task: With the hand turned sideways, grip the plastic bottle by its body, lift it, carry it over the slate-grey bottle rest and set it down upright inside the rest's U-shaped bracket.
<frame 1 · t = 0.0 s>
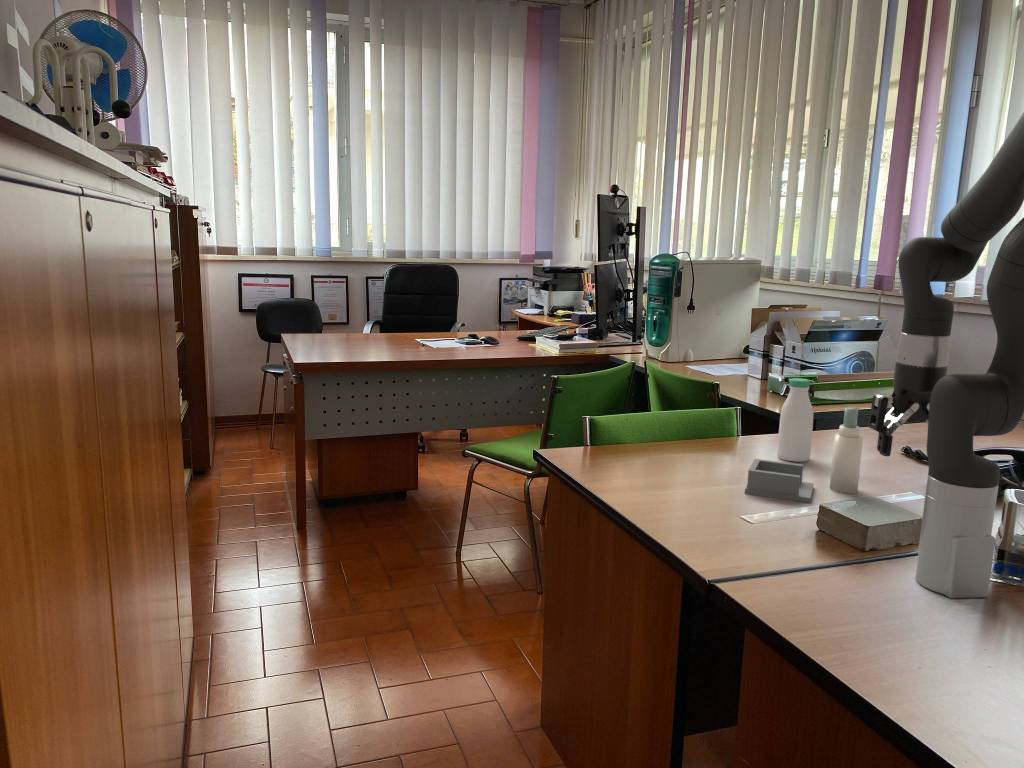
hand: (908, 455, 125), 17 cm above the table, tool pointing down, fingers open, 8 cm apart
plastic bottle: (843, 489, 161), on the table
milk bottle: (793, 459, 185), on the table
bottle rest: (776, 490, 160), on the table
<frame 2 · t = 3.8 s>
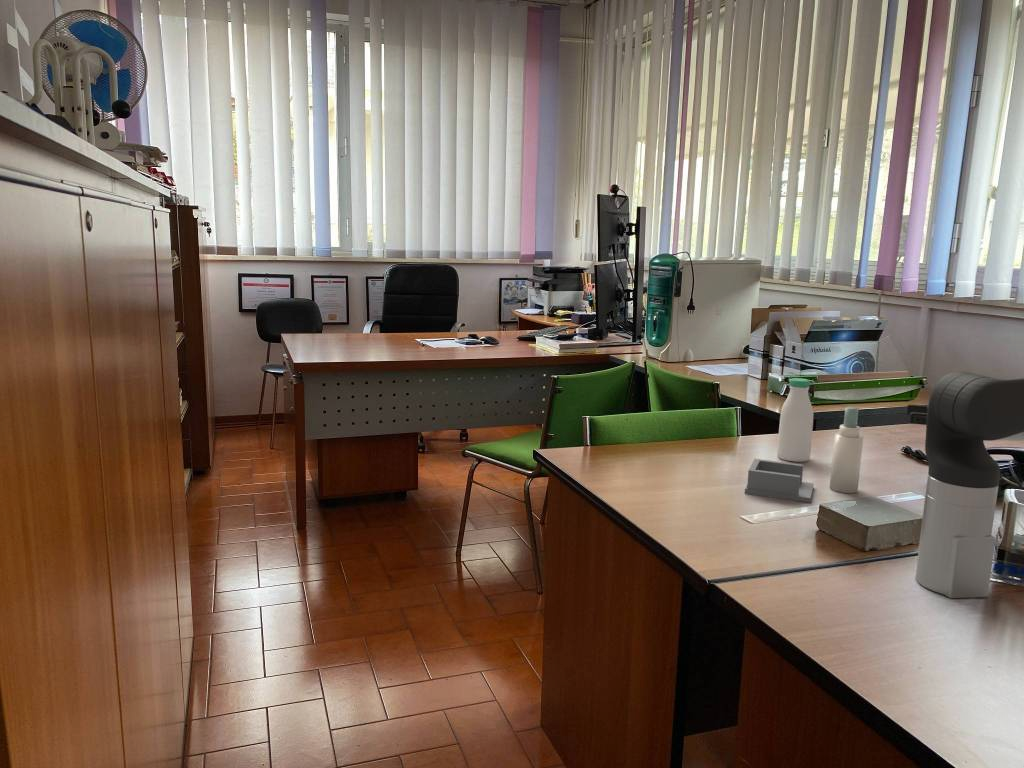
hand: (908, 413, 153), 18 cm above the table, tool horizontal, fingers open, 8 cm apart
nothing on the table moved.
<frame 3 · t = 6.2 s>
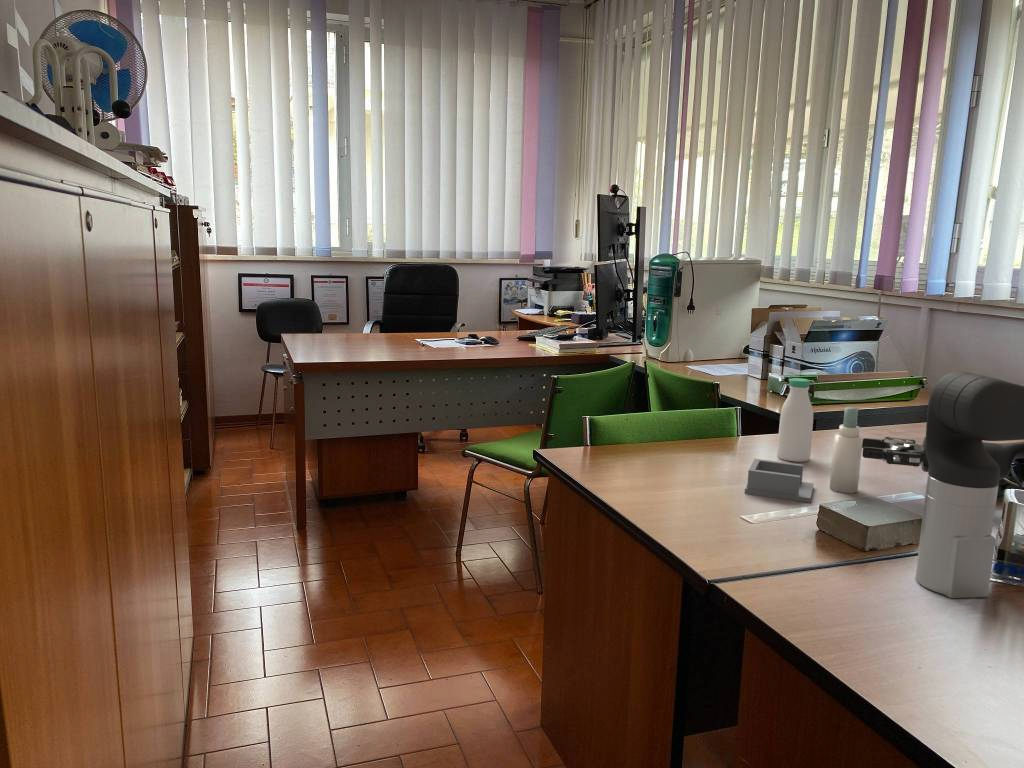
hand: (862, 447, 158), 10 cm above the table, tool horizontal, fingers open, 8 cm apart
nothing on the table moved.
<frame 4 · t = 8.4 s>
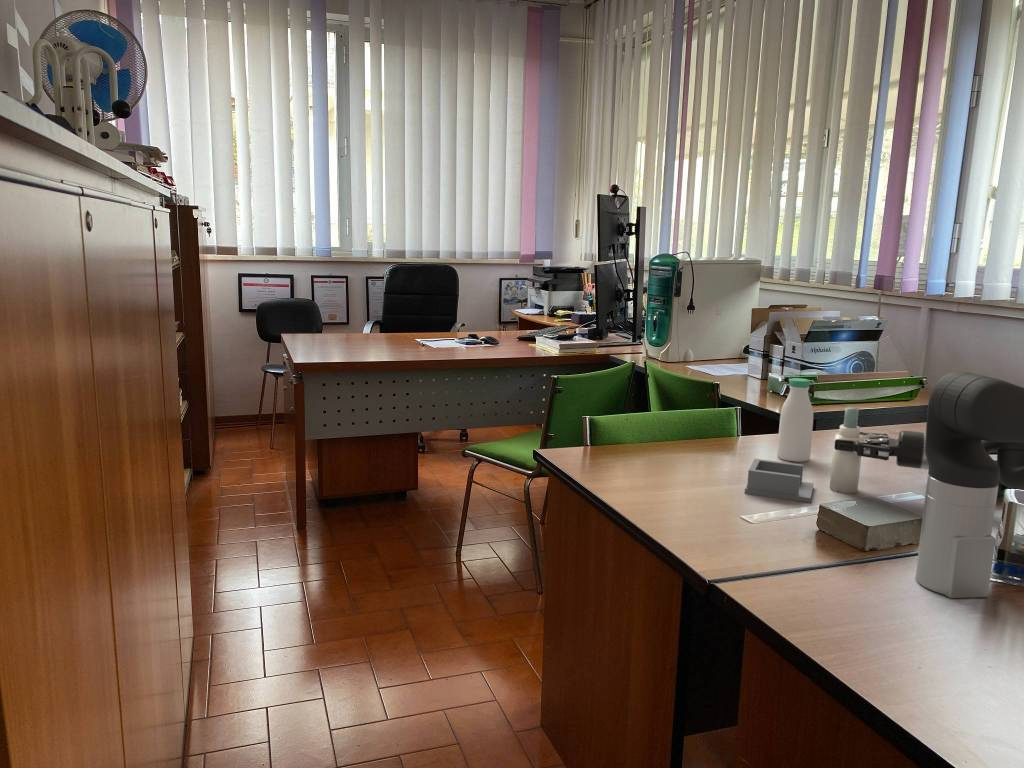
hand: (835, 440, 160), 11 cm above the table, tool horizontal, fingers closed on plastic bottle, 5 cm apart
plastic bottle: (843, 489, 161), on the table, touching gripper
everything else where it was.
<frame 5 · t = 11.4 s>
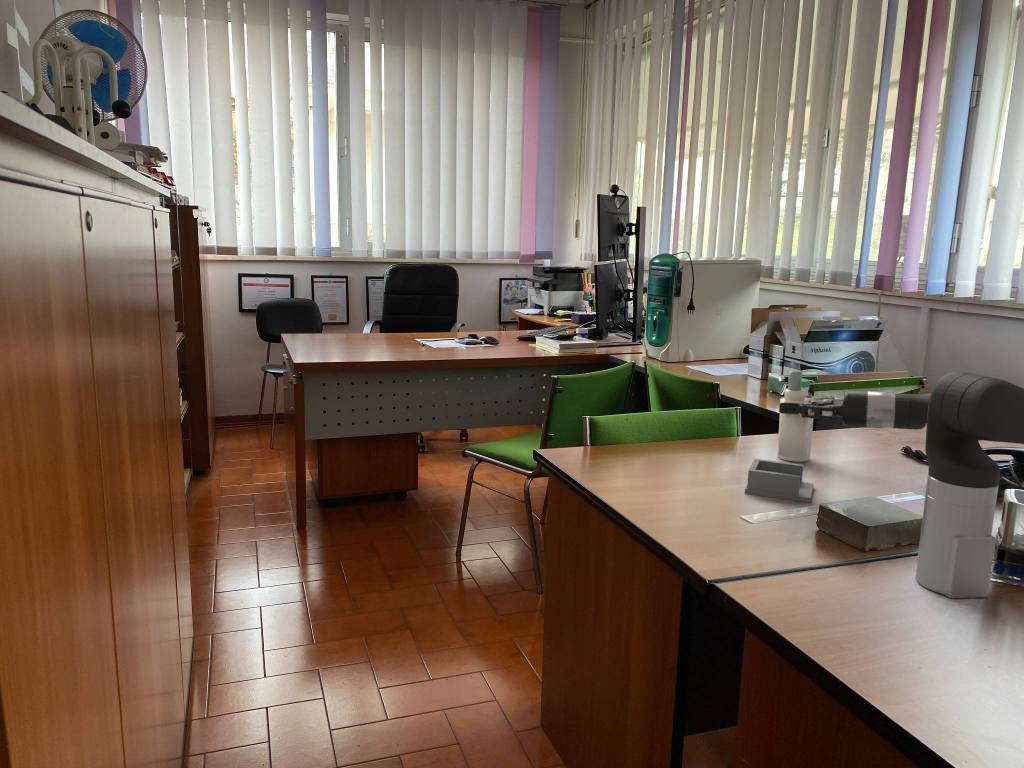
hand: (781, 405, 158), 19 cm above the table, tool horizontal, fingers closed on plastic bottle, 5 cm apart
plastic bottle: (792, 454, 158), point 8 cm above the table, touching gripper
everything else where it was.
when the fingers open (12 cm above the table, at t = 14.4 s): plastic bottle stays where it is, resting on bottle rest.
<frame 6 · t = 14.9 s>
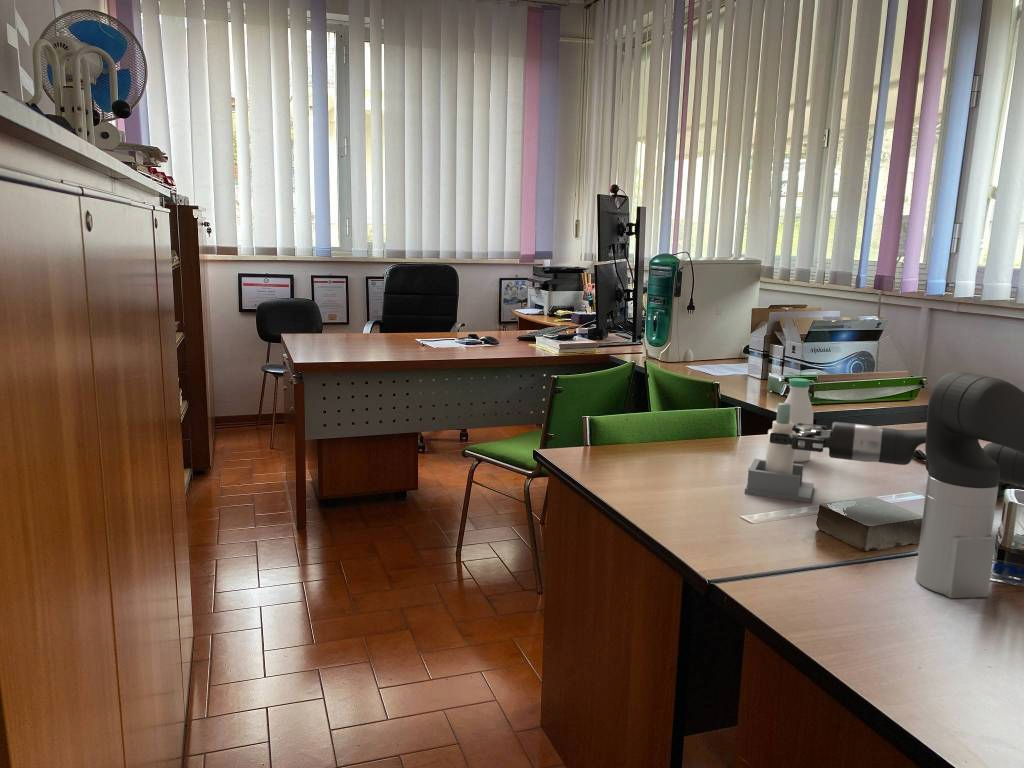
hand: (772, 432, 158), 12 cm above the table, tool horizontal, fingers open, 8 cm apart
plastic bottle: (777, 485, 160), point 1 cm above the table, touching bottle rest
everything else where it was.
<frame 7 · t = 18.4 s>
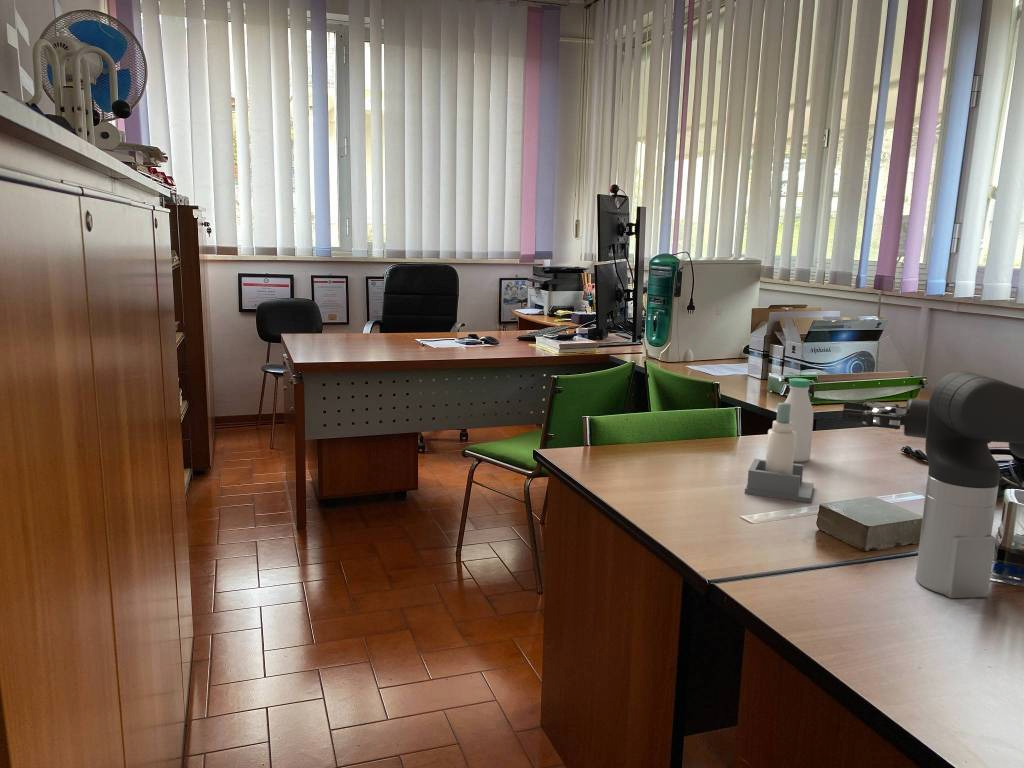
hand: (842, 410, 153), 19 cm above the table, tool horizontal, fingers open, 8 cm apart
nothing on the table moved.
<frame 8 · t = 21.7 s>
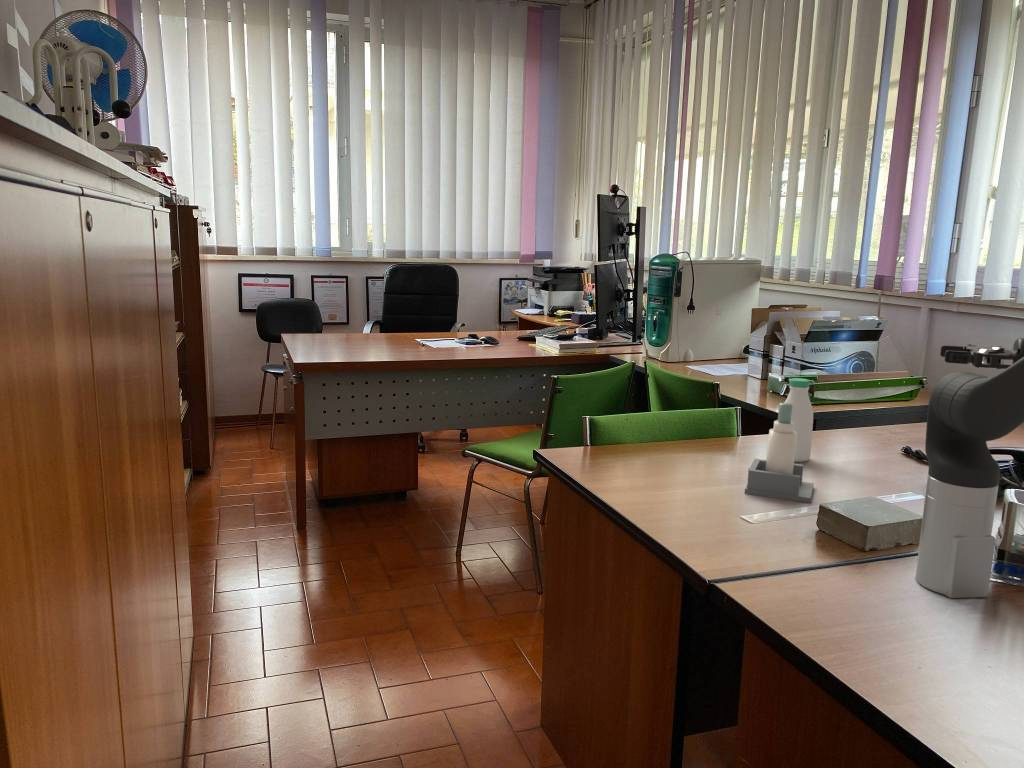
hand: (942, 353, 141), 32 cm above the table, tool horizontal, fingers open, 8 cm apart
nothing on the table moved.
at the end: plastic bottle 0.1 cm off-centre on the bottle rest, point 1.0 cm above the bottle rest's base; plastic bottle tilted 1°; the gripper is holding nothing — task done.
